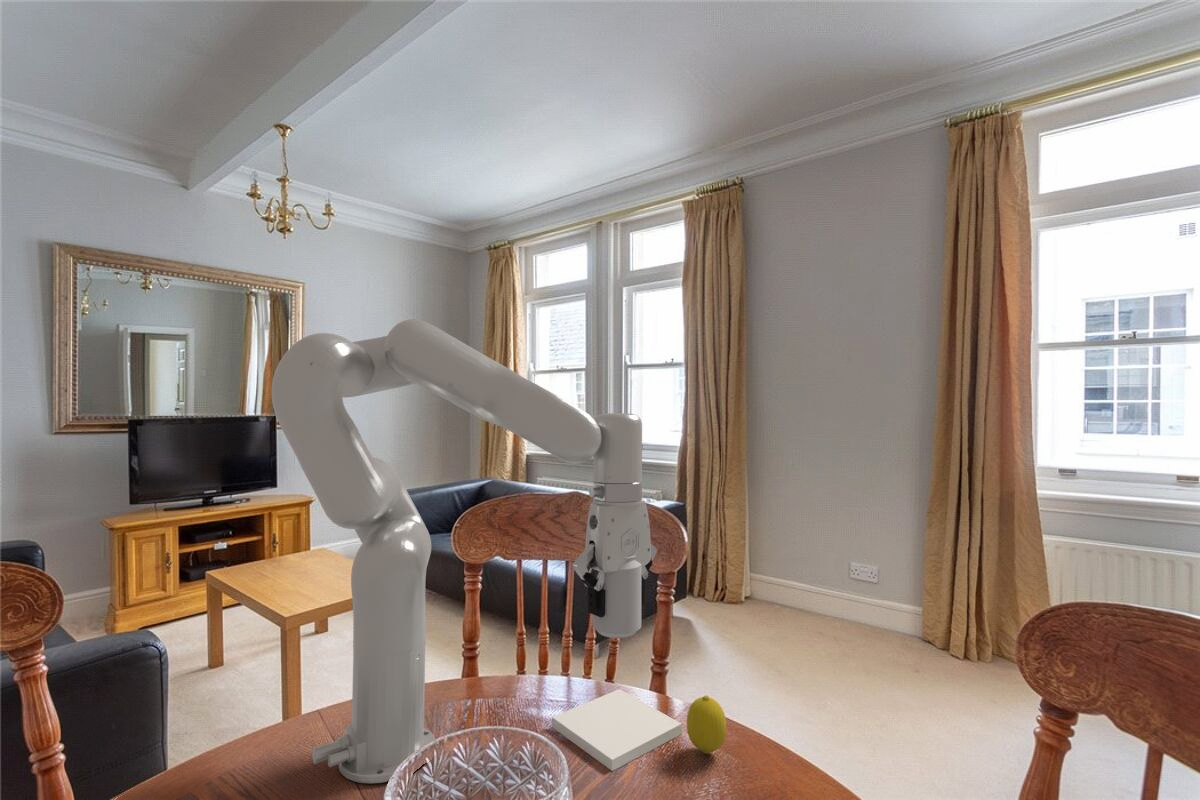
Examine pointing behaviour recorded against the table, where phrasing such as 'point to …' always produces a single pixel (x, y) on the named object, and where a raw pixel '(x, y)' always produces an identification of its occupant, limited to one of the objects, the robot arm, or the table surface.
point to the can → (621, 601)
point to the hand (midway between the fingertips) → (617, 608)
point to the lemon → (706, 724)
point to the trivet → (616, 728)
